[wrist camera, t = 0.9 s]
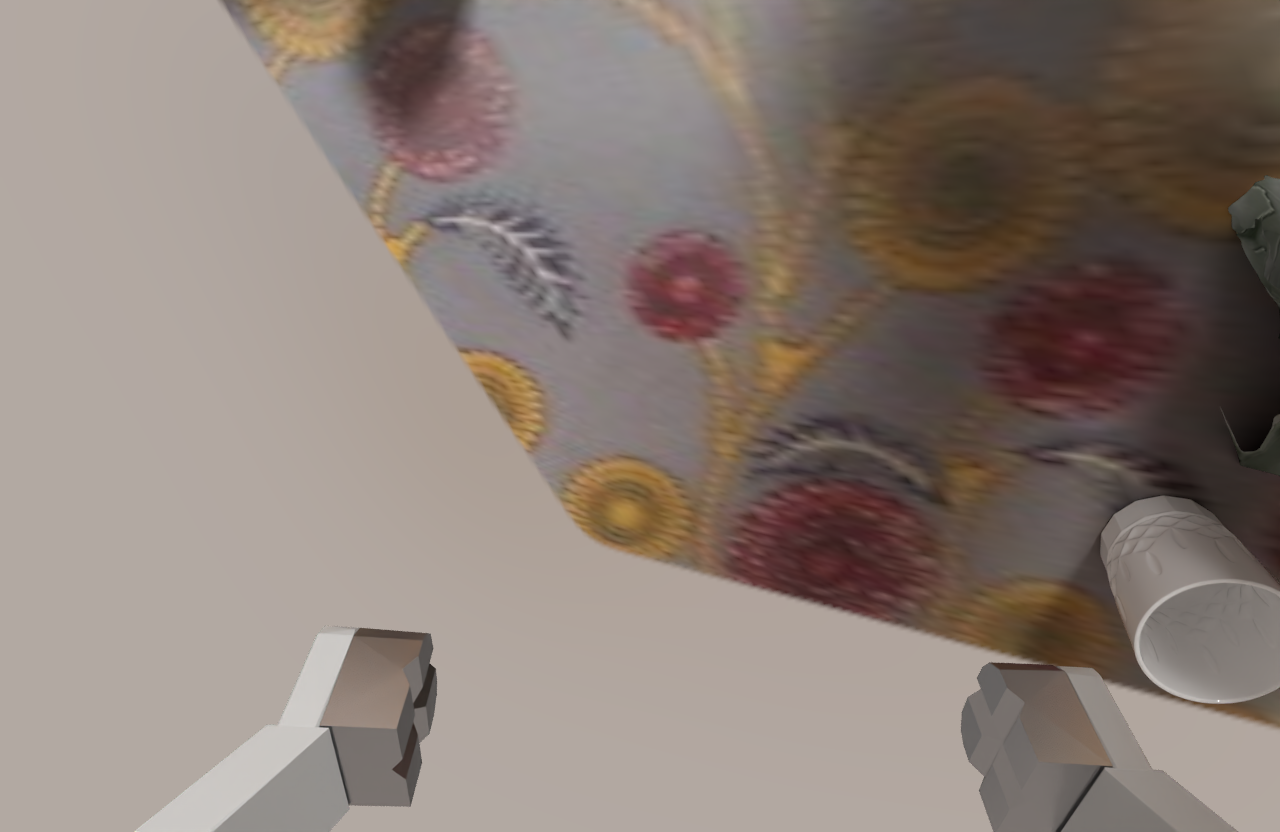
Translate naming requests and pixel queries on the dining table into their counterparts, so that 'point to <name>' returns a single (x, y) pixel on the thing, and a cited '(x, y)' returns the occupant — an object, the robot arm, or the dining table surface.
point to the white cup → (1193, 601)
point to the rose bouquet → (1276, 247)
